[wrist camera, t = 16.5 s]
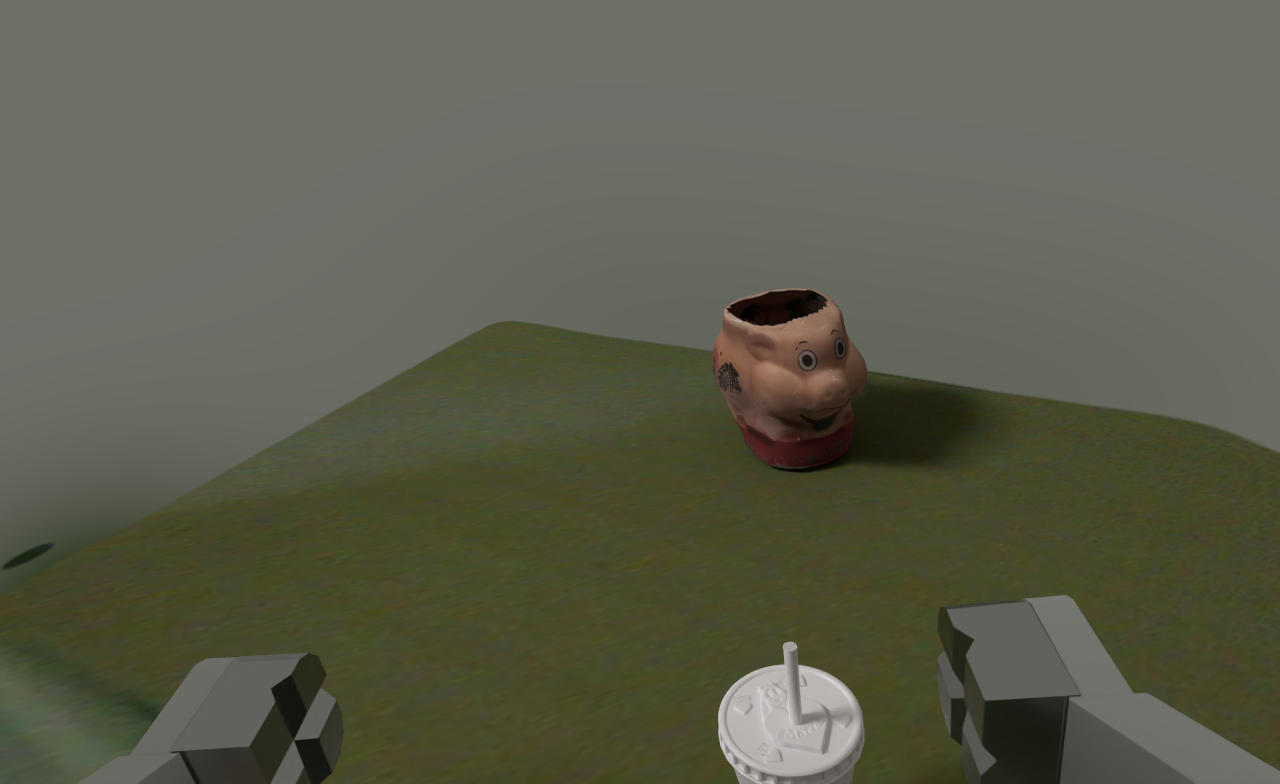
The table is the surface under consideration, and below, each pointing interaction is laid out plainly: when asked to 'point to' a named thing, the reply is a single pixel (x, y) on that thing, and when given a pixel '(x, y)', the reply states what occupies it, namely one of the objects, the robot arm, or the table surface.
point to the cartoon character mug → (789, 376)
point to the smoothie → (791, 726)
